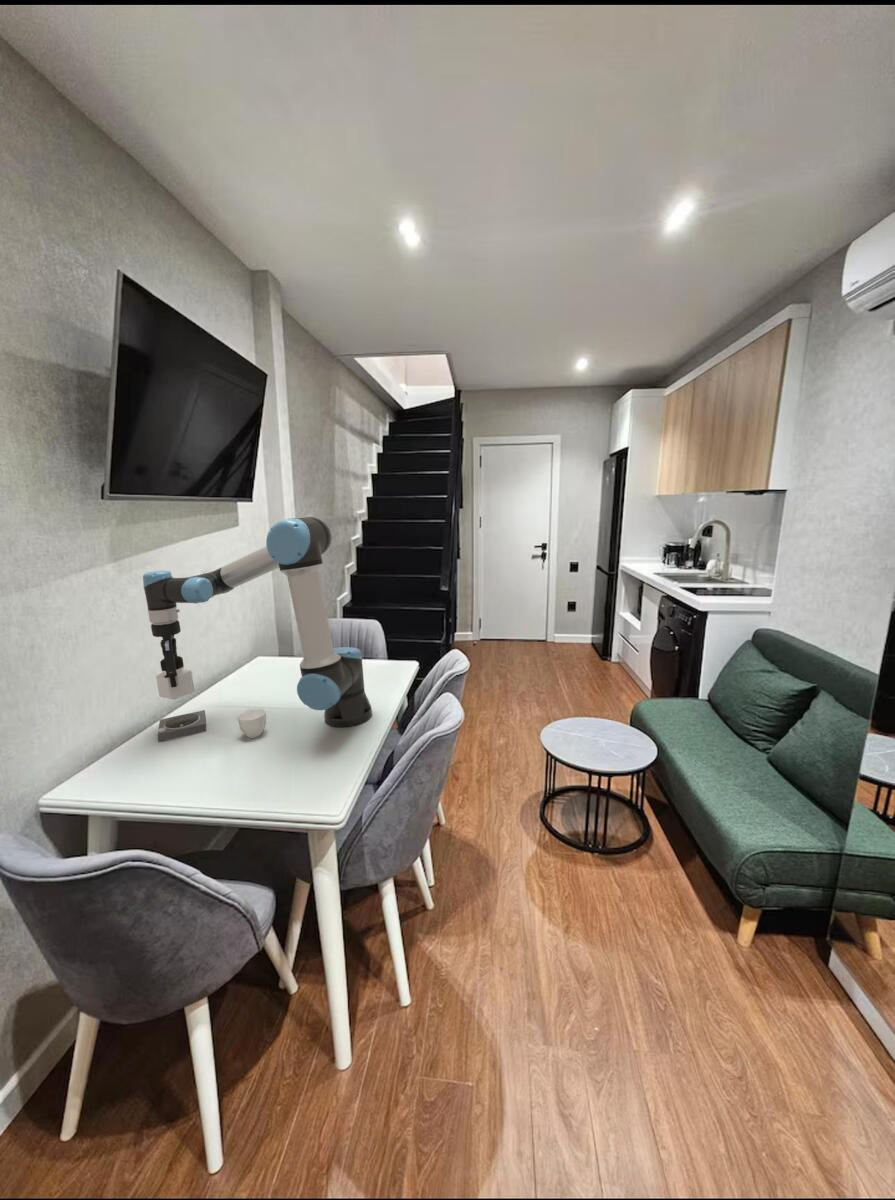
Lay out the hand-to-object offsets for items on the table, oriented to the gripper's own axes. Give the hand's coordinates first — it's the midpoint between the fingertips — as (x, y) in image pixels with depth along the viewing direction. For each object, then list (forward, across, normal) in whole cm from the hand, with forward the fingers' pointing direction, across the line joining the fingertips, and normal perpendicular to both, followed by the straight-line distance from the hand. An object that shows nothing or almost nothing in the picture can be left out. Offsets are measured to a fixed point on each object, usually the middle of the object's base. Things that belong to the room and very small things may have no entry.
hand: (176, 690), depth 148 cm
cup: (+13, -16, -20) cm, 29 cm away
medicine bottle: (+1, 0, 0) cm, 1 cm away
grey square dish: (+13, 0, 0) cm, 13 cm away
